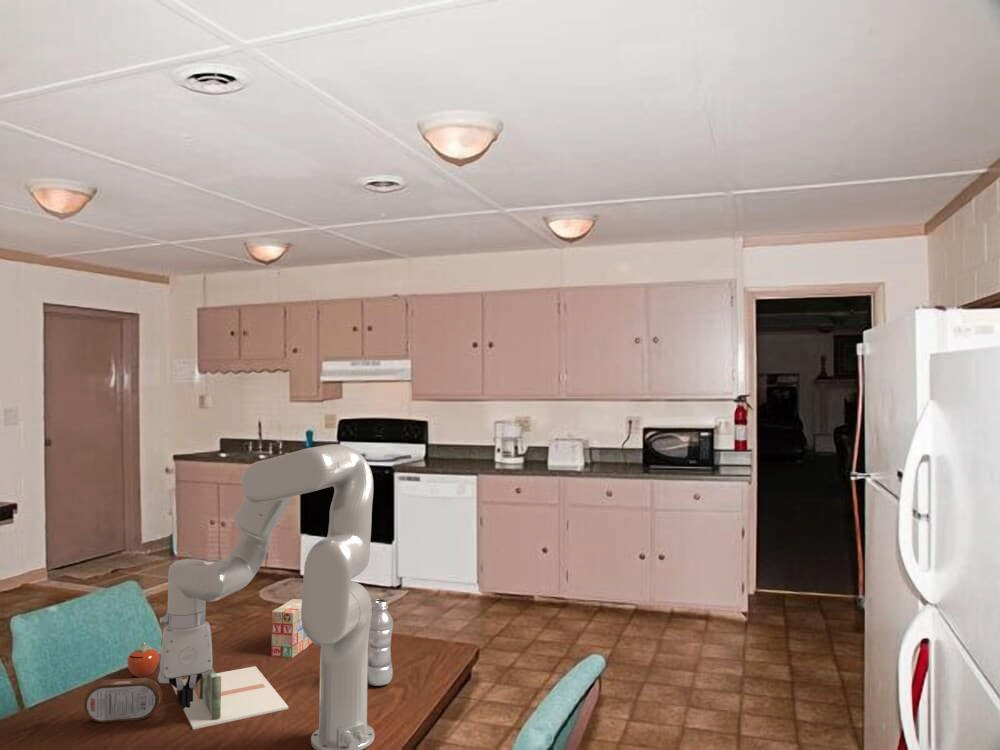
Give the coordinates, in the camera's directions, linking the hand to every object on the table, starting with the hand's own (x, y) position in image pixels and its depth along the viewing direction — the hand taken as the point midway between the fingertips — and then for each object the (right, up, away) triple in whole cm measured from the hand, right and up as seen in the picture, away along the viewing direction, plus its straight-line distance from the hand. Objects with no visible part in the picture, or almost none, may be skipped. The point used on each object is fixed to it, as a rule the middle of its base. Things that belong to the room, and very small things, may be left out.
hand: (184, 705), depth 159 cm
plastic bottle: (+38, -5, +22) cm, 44 cm away
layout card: (+4, -4, +15) cm, 16 cm away
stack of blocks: (+11, -6, +51) cm, 52 cm away
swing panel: (+3, -3, +6) cm, 7 cm away
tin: (-14, -4, +2) cm, 15 cm away
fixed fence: (-4, -4, +18) cm, 19 cm away
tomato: (-22, -5, +27) cm, 35 cm away
